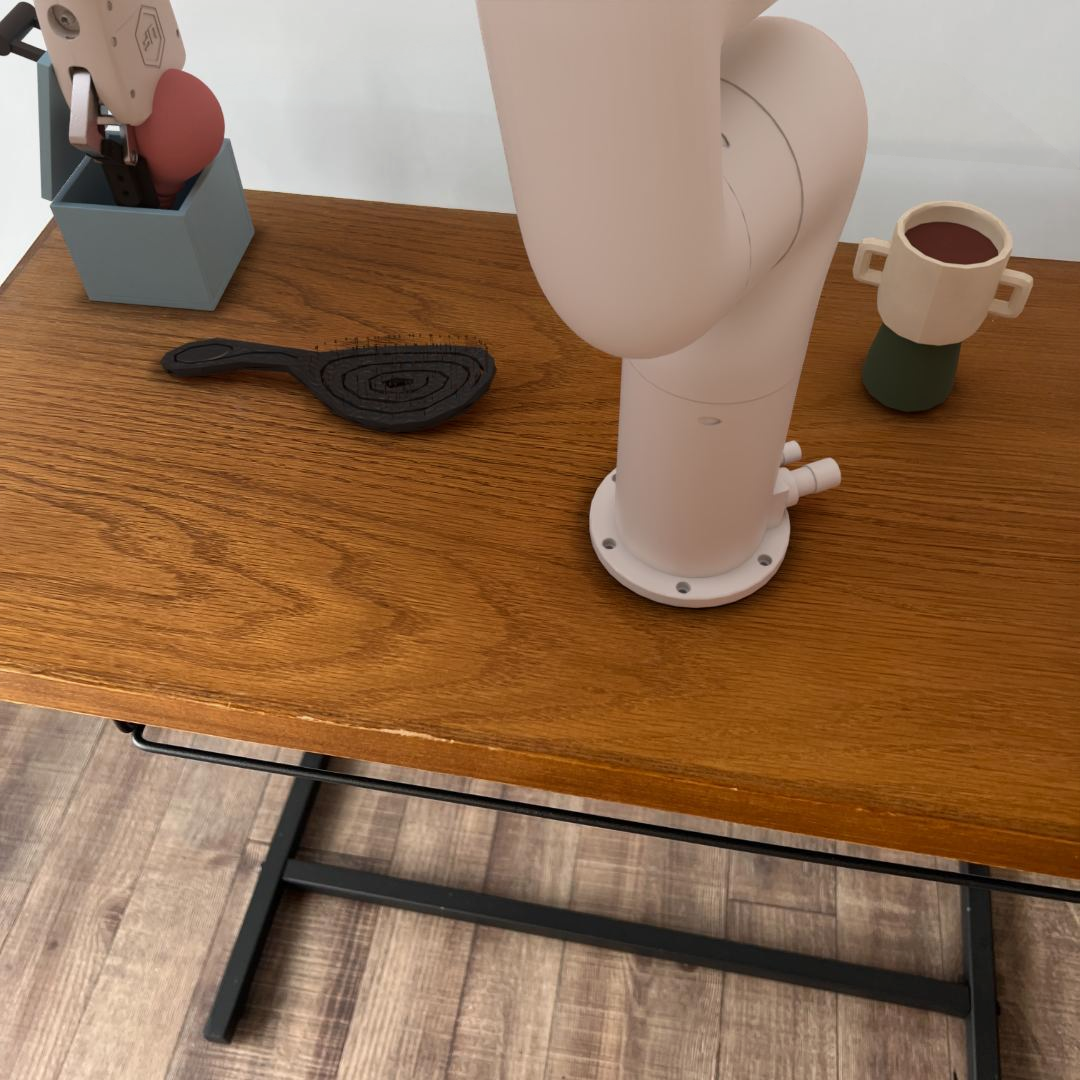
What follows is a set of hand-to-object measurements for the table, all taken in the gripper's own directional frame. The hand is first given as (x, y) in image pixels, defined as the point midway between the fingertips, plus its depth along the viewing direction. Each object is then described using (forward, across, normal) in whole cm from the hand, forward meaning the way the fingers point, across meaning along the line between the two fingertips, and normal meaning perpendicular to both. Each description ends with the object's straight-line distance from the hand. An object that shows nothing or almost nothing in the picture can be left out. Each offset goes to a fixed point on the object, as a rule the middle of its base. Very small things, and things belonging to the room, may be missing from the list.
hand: (157, 176), depth 81 cm
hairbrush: (+8, -12, -15) cm, 21 cm away
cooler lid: (-6, 0, +4) cm, 7 cm away
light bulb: (+3, 0, +2) cm, 3 cm away
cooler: (+8, 0, +1) cm, 8 cm away
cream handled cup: (+8, -7, -56) cm, 57 cm away
